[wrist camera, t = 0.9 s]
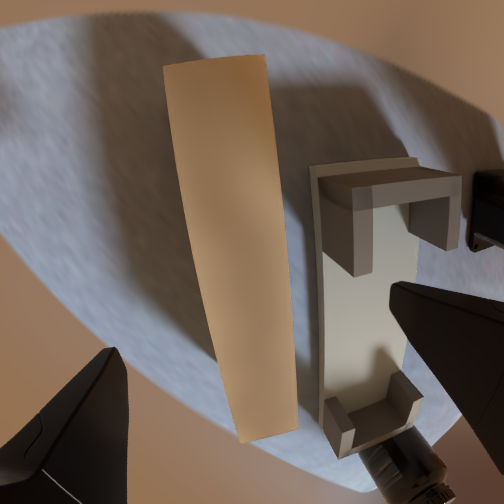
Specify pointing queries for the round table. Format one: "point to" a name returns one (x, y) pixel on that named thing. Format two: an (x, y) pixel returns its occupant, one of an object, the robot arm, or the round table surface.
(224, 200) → the slat
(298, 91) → the round table surface
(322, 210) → the slat rail
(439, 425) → the round table surface
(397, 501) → the supplement bottle
